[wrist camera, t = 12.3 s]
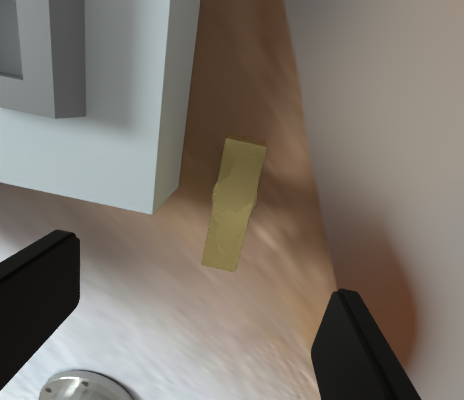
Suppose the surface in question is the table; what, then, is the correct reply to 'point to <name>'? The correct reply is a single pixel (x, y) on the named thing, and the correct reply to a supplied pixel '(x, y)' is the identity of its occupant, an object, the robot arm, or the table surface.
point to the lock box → (96, 97)
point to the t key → (233, 200)
